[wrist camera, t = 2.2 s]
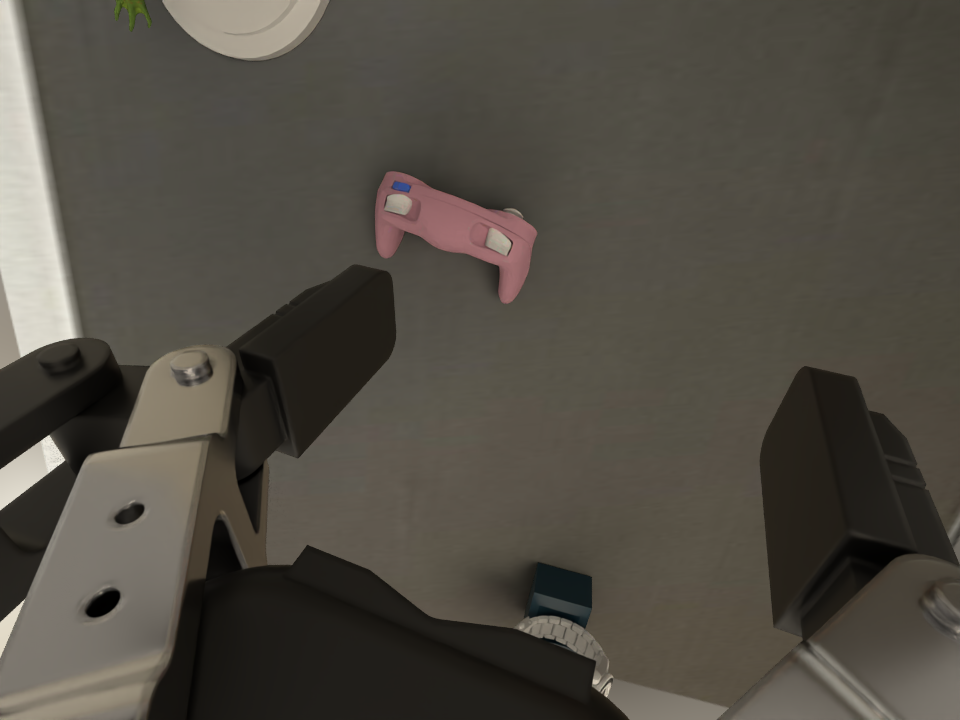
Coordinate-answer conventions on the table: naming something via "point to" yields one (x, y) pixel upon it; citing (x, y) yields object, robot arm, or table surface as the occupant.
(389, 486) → the table surface
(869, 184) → the table surface
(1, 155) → the table surface
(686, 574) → the table surface
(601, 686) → the watch
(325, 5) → the monster figurine
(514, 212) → the video game controller
